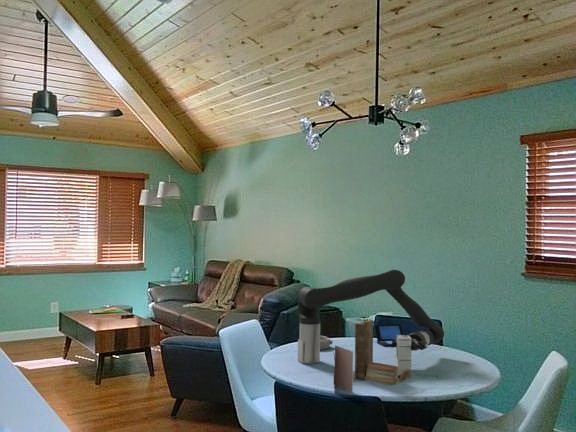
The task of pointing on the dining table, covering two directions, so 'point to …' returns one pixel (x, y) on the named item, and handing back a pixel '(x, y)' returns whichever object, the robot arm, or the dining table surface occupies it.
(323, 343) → the dish
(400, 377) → the walnut rack
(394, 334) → the handheld game console
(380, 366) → the offcut stack
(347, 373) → the greeting card
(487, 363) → the dining table surface
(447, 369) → the dining table surface
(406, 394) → the dining table surface
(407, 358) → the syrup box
